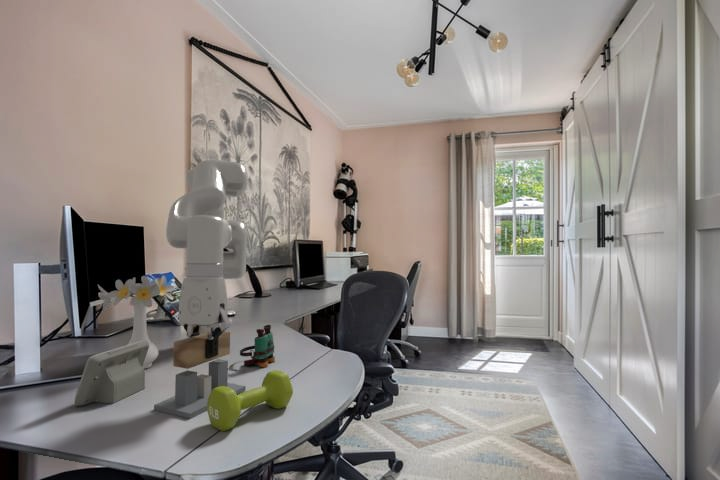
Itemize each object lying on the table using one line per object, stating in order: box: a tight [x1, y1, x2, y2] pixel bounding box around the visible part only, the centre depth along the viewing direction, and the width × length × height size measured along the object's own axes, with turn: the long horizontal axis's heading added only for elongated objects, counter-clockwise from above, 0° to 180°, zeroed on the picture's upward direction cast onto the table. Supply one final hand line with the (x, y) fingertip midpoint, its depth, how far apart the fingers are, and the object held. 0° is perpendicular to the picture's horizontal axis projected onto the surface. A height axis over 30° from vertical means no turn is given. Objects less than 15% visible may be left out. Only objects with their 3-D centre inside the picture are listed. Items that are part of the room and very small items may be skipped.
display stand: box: [153, 358, 247, 420], centre depth 83 cm, size 10×16×7 cm, turn 157°
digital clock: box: [74, 340, 149, 407], centre depth 86 cm, size 16×9×11 cm, turn 157°
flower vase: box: [97, 275, 176, 370], centre depth 105 cm, size 13×18×25 cm
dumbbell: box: [207, 369, 294, 432], centre depth 76 cm, size 16×8×7 cm, turn 140°
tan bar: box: [172, 330, 231, 370], centre depth 83 cm, size 4×12×5 cm, turn 157°
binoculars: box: [239, 324, 276, 368], centre depth 110 cm, size 9×11×10 cm
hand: (203, 354), depth 83 cm, fingers closed on tan bar, 4 cm apart
